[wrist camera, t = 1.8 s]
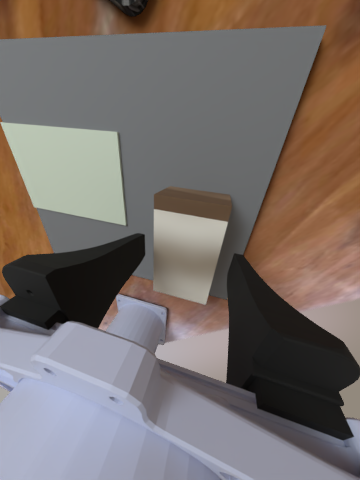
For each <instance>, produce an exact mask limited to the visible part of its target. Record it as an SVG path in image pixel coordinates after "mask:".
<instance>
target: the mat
mask: <svg viewBox="0 0 360 480" xmlns="http://www.w3.org/2000/svg"><path fill="white" fill-rule="evenodd" d="M325 29H326V26H304V27H281V28H258V29H234V30H211V31H188V32H164V33H141V34H118V35H95V36H71V37H48V38H25V39H2V40H0V116H1V119H2V121H3V122H4V123H16V124H28V125H40V126H52V127H64V128H76V129H88V130H100V131H113V132H118V133H119V144H120V155H121V166H122V177H123V187H124V198H125V209H126V220H127V225H126V226H125V225H120V224H115V223H110V222H106V221H101V220H96V219H91V218H86V217H81V216H76V215H71V214H66V213H61V212H56V211H51V210H46V209H41V208H37V210H38V213H39V216H40V218H41V221H42V223H43V226H44V228H45V231H46V233H47V236H48V238H49V241H50V244H51V246H52V249H53V251H54V253H63V252H71V251H77V250H82V249H88V248H92V247H96V246H100V245H103V244H107V243H110V242H113V241H116V240H119V239H121V238H124V237H127V236H130V235H133V234H136V233H140V234H145V256H144V258H143V260H142V262H141V263H140V265H139V266H138V267H137V269H136V270H135V271H134V272H133V274H132V275H134V276H138V277H142V278H146V279H149V280H153V276H154V194H155V193H157V192H159V191H161V190H163V189H165V188H167V187H169V186H172V187H179V188H186V189H193V190H200V191H207V192H214V193H221V194H228V195H230V198H231V203H232V209H231V213H230V217H229V220H228V224H227V228H226V231H225V235H224V239H223V243H222V246H221V250H220V254H219V257H218V261H217V265H216V269H215V272H214V276H213V280H212V284H211V287H210V291H209V295H210V296H214V297H218V298H222V299H226V300H227V297H228V296H227V273H228V270H229V267H230V264H231V261H232V258H233V255H234V253H236V254H241V255H243V253H244V251H245V248H246V245H247V243H248V240H249V237H250V234H251V232H252V229H253V226H254V223H255V221H256V218H257V215H258V212H259V210H260V207H261V204H262V201H263V199H264V196H265V193H266V190H267V188H268V185H269V182H270V179H271V177H272V174H273V171H274V168H275V166H276V163H277V160H278V157H279V155H280V152H281V149H282V147H283V144H284V141H285V138H286V136H287V133H288V130H289V127H290V125H291V122H292V119H293V116H294V114H295V111H296V108H297V105H298V103H299V100H300V97H301V94H302V92H303V89H304V86H305V83H306V81H307V78H308V75H309V72H310V70H311V67H312V64H313V61H314V59H315V56H316V53H317V51H318V48H319V45H320V42H321V40H322V37H323V34H324V31H325Z"/></svg>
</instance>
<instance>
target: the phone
mask: <svg viewBox="0 0 360 480" xmlns="http://www.w3.org/2000/svg"><path fill="white" fill-rule="evenodd" d="M110 1H111V2H112V3H113V4H114V5H116V6H117V7H118V8H119V9H120V10H122V11H123V12H124V13H125V14H127V15H129V16H137V15H139V14H140V13H141V12H142V11H143V10H144V8H145V7H146V4H147V2H148V0H110Z"/></svg>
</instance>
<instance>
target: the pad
mask: <svg viewBox="0 0 360 480" xmlns="http://www.w3.org/2000/svg"><path fill="white" fill-rule="evenodd" d="M0 123H1V125H2V128H3V130H4V133H5V135H6V138H7V140H8V143H9V145H10V148H11V150H12V153H13V155H14V158H15V160H16V163H17V165H18V168H19V170H20V173H21V175H22V178H23V180H24V183H25V185H26V188H27V190H28V193H29V195H30V198H31V200H32V203H33V205H34V207H36V208H41V209H46V210H51V211H56V212H61V213H66V214H71V215H76V216H81V217H86V218H91V219H96V220H101V221H106V222H110V223H115V224H120V225H125V226H126V225H127V220H126V209H125V198H124V187H123V177H122V166H121V155H120V144H119V133H118V132H113V131H100V130H88V129H76V128H64V127H52V126H40V125H28V124H16V123H4V122H0Z"/></svg>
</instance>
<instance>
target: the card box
mask: <svg viewBox="0 0 360 480" xmlns="http://www.w3.org/2000/svg"><path fill="white" fill-rule="evenodd" d="M231 209H232V203H231V198H230V195H228V194H221V193H214V192H207V191H200V190H193V189H186V188H179V187H172V186H169V187H167V188H165V189H163V190H161V191H159V192H157V193H155V194H154V276H153V291H157V292H161V293H164V294H168V295H172V296H175V297H179V298H182V299H186V300H190V301H193V302H197V303H201V304H204V305H206V302H207V298H208V295H209V291H210V287H211V284H212V280H213V276H214V272H215V269H216V265H217V261H218V257H219V254H220V250H221V246H222V243H223V239H224V235H225V231H226V228H227V224H228V220H229V217H230V213H231Z"/></svg>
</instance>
